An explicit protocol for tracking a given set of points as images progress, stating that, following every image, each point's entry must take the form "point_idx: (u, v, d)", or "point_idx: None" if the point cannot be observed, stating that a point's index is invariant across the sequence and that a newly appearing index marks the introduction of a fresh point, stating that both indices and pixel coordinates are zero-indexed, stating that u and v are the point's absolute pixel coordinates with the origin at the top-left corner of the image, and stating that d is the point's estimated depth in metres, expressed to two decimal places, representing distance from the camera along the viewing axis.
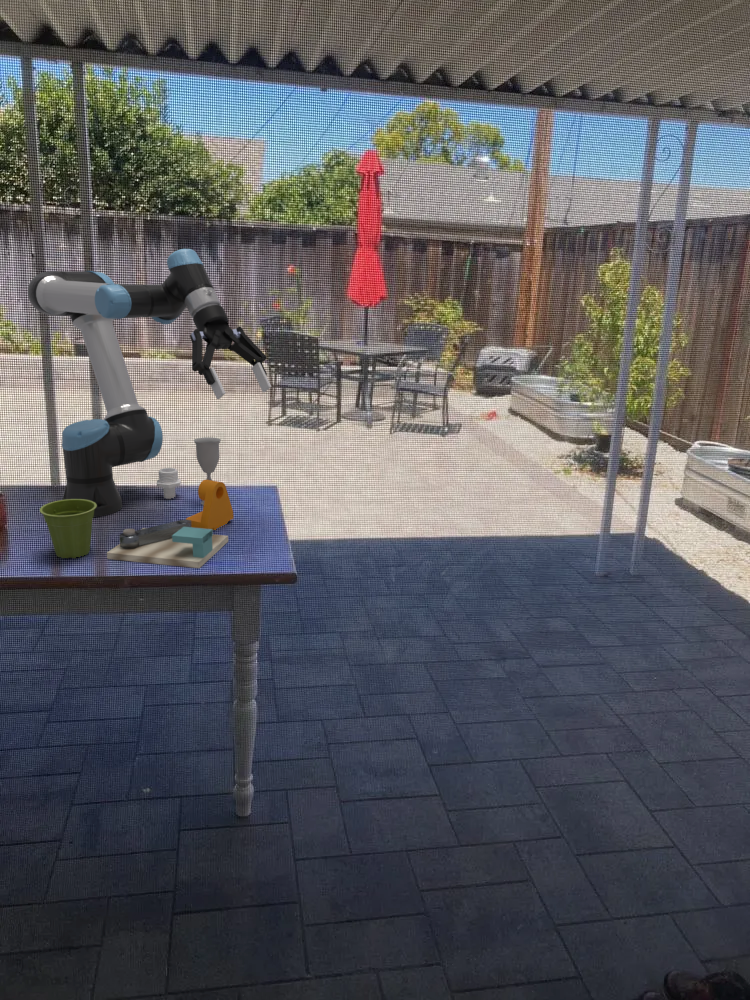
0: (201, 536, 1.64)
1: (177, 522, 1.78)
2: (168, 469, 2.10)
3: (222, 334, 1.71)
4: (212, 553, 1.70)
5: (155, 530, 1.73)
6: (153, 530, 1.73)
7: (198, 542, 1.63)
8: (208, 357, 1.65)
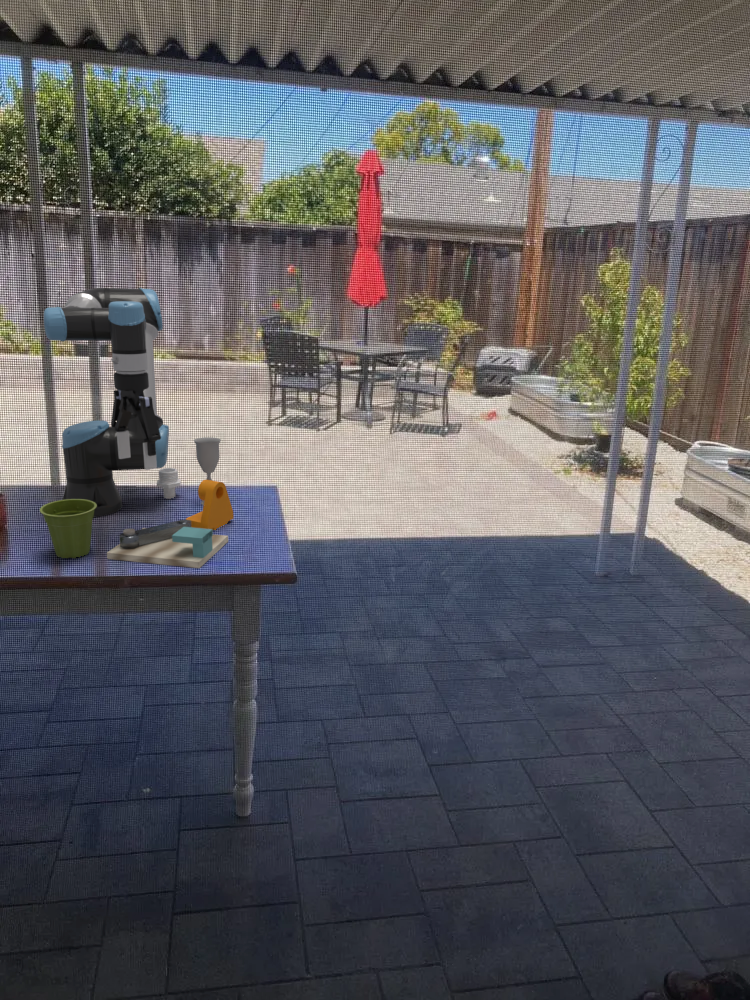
0: (201, 536, 1.64)
1: (177, 522, 1.78)
2: (168, 469, 2.10)
3: None
4: (212, 553, 1.70)
5: (155, 530, 1.73)
6: (153, 530, 1.73)
7: (198, 542, 1.63)
8: (117, 421, 1.76)
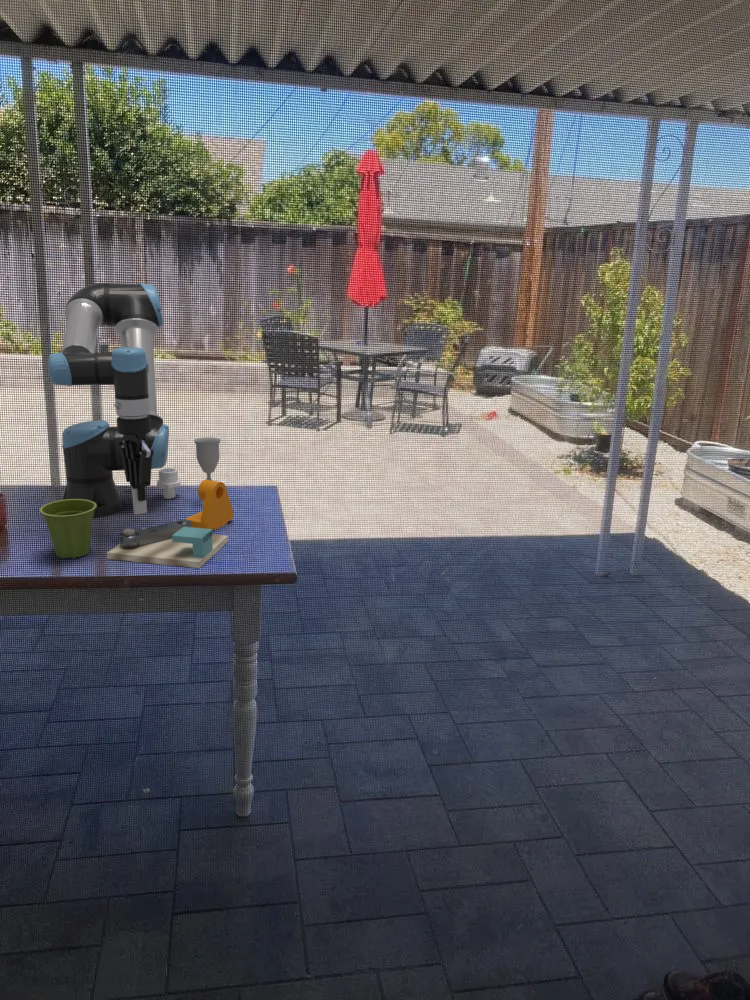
0: (201, 536, 1.64)
1: (177, 522, 1.78)
2: (168, 469, 2.10)
3: None
4: (212, 553, 1.70)
5: (155, 530, 1.73)
6: (153, 530, 1.73)
7: (198, 542, 1.63)
8: (129, 474, 1.76)
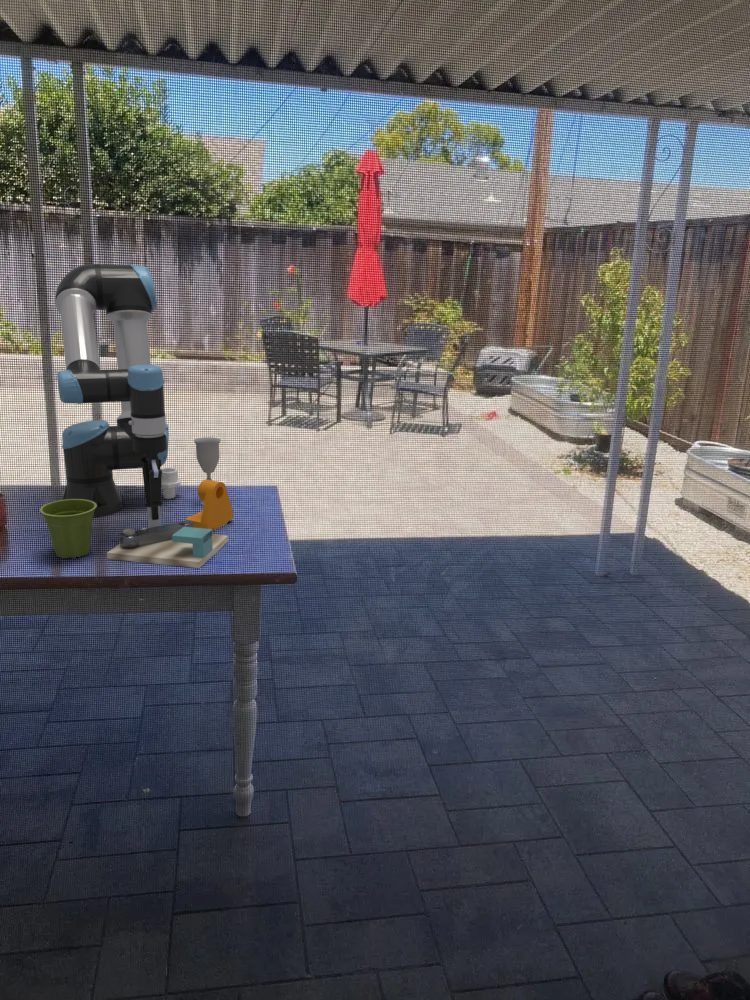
0: (201, 536, 1.64)
1: (179, 523, 1.78)
2: (168, 469, 2.10)
3: (146, 460, 1.70)
4: (212, 553, 1.70)
5: (156, 531, 1.72)
6: (154, 531, 1.72)
7: (198, 542, 1.63)
8: (146, 491, 1.74)
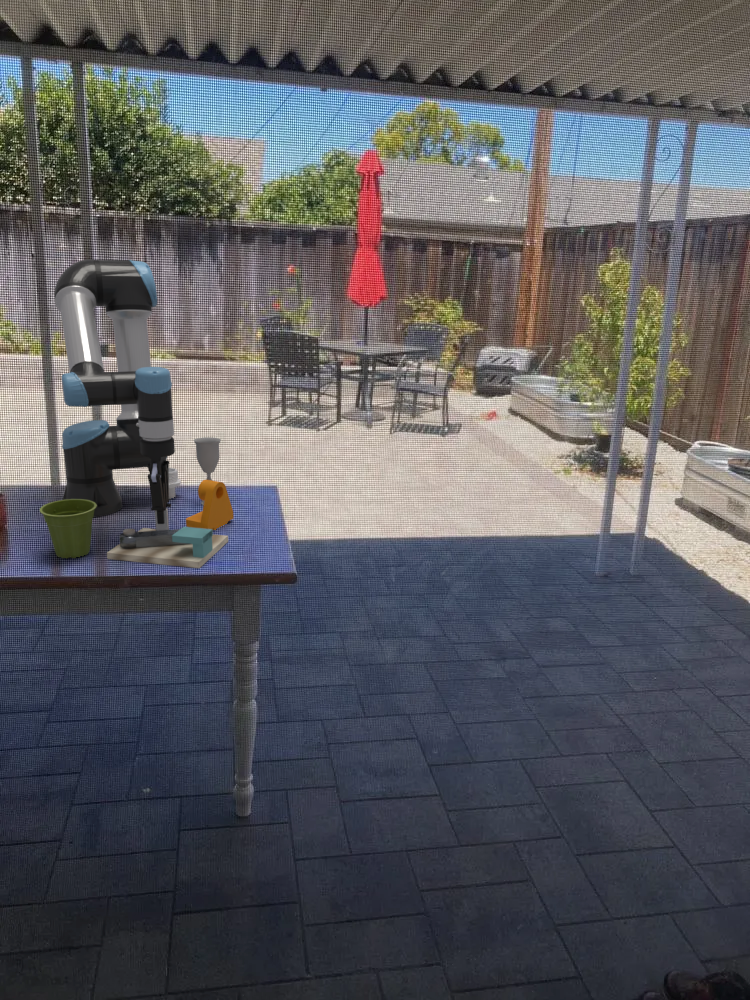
0: (201, 536, 1.64)
1: None
2: None
3: None
4: (212, 553, 1.70)
5: (156, 534, 1.70)
6: (154, 534, 1.70)
7: (198, 542, 1.63)
8: None
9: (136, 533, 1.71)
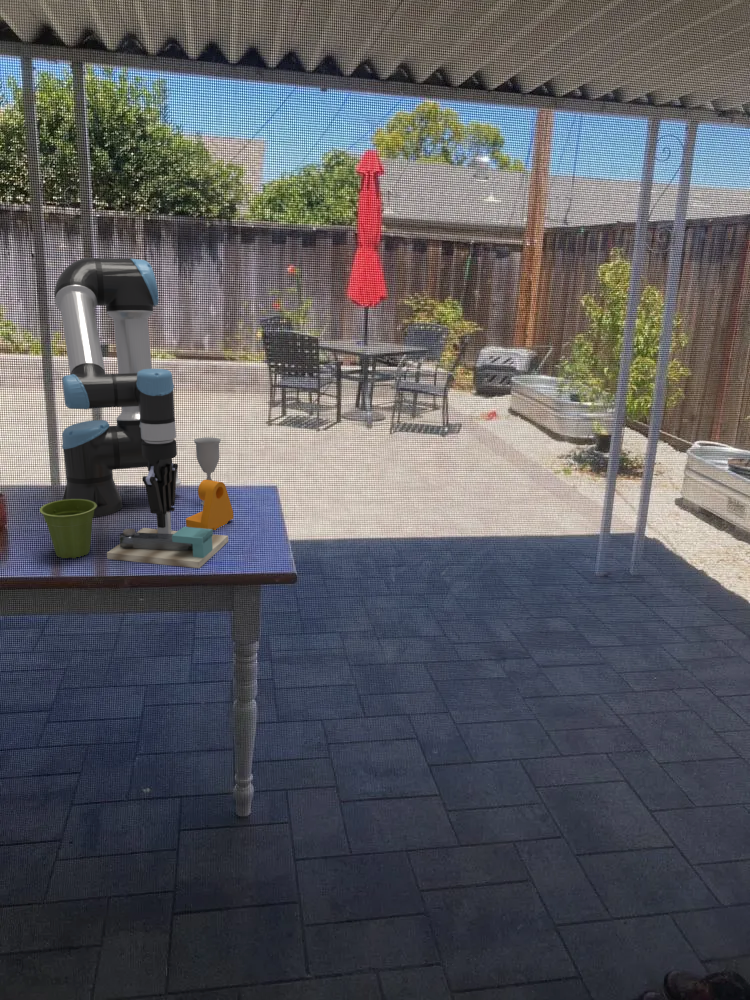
0: (201, 536, 1.64)
1: None
2: None
3: None
4: (212, 553, 1.70)
5: (153, 537, 1.68)
6: (151, 537, 1.68)
7: (198, 542, 1.63)
8: None
9: (137, 534, 1.70)
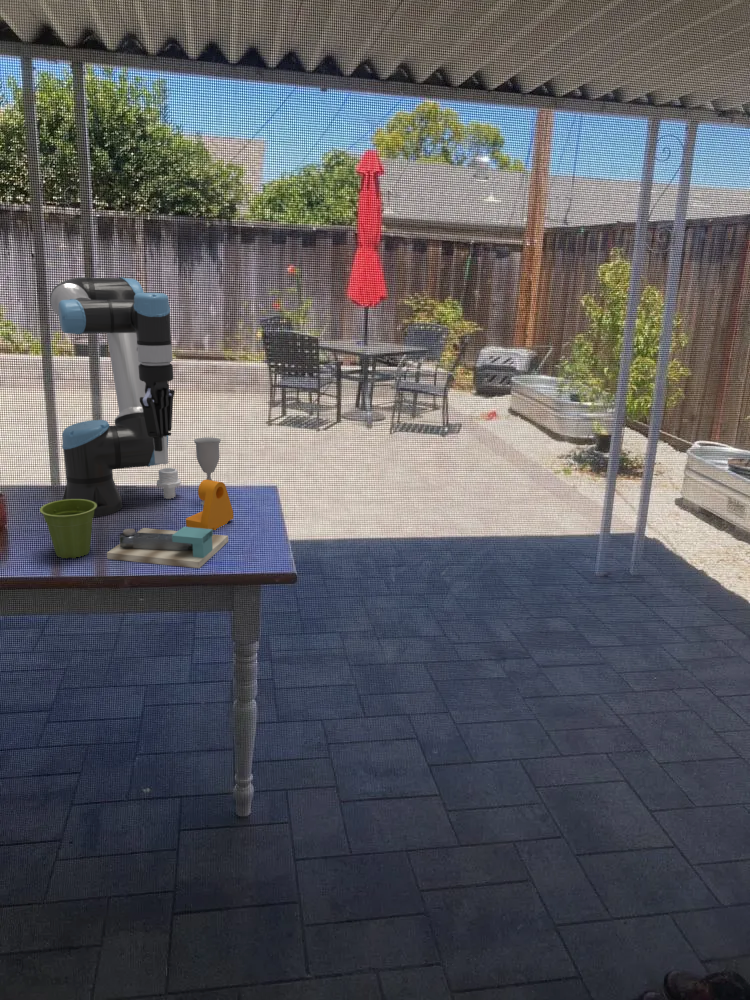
0: (201, 536, 1.64)
1: None
2: (168, 469, 2.10)
3: None
4: (212, 553, 1.70)
5: (153, 537, 1.68)
6: (151, 537, 1.68)
7: (198, 542, 1.63)
8: None
9: (137, 534, 1.70)
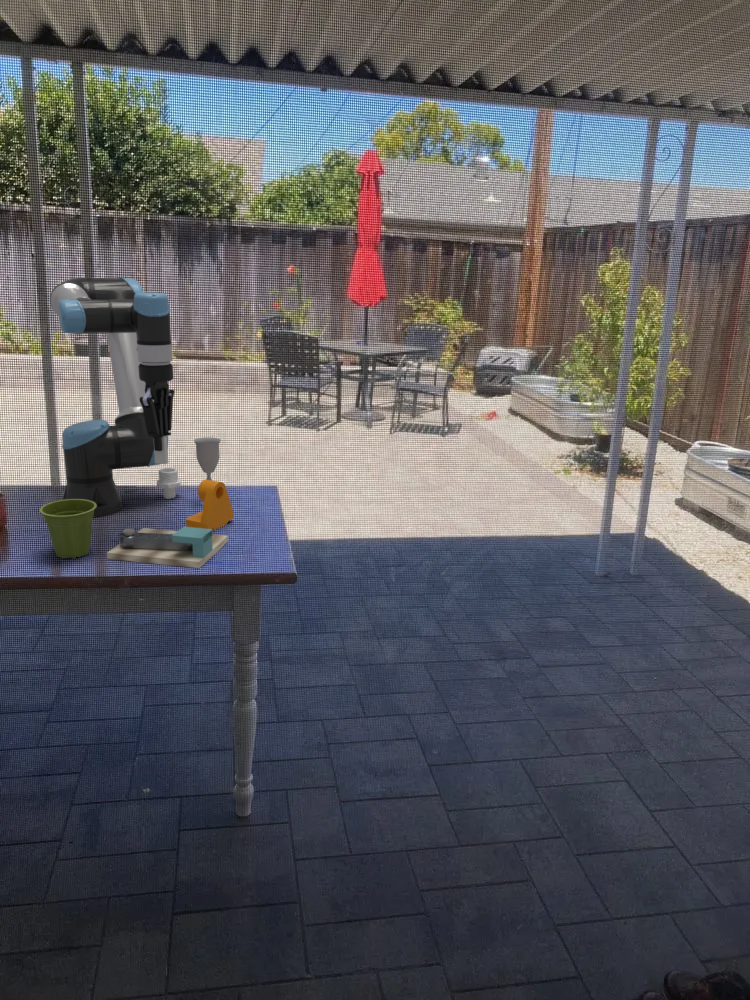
0: (201, 536, 1.64)
1: None
2: (168, 469, 2.10)
3: None
4: (212, 553, 1.70)
5: (153, 537, 1.68)
6: (151, 537, 1.68)
7: (198, 542, 1.63)
8: None
9: (137, 534, 1.70)
